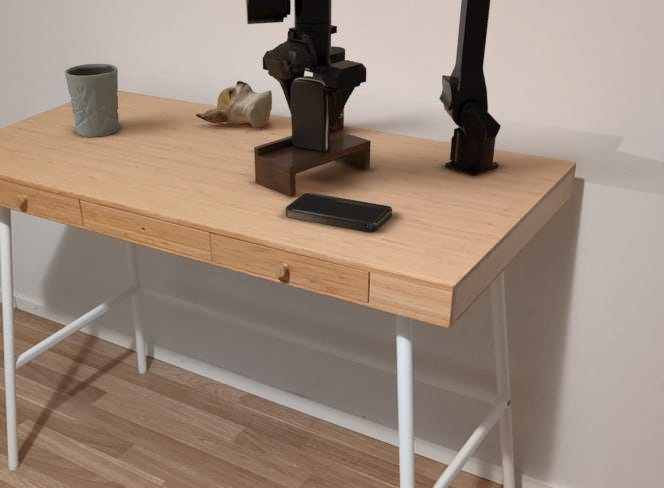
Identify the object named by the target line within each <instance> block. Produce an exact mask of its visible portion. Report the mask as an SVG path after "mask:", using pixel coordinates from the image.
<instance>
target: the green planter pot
mask: <svg viewBox="0 0 664 488" xmlns="http://www.w3.org/2000/svg"><path fill="white" fill-rule="evenodd" d="M118 71H119V70H118V67H117V66H116V65H113V64H109V63H87V64H86V63H85V64H79V65H75V66H71V67H68V68H67V69H65V70H64V76H65V81H66V85H67V90H68V94H69V97H70V104H71V109H72V113H73V121H74V125H75V131H76V134H77V135H79V136H81V137H87V138H98V137H105V136H109V135H113V134H114V133H116V132H118V131H119V129H120V122H119V121H120V119H119V117H120V116H119V111H118V110H119V96H118V89H119V85H118V84H119V82H118V81H119V80H118V74H119V73H118Z"/></svg>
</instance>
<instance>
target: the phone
mask: <svg viewBox="0 0 664 488" xmlns="http://www.w3.org/2000/svg"><path fill="white" fill-rule="evenodd" d="M285 216H286V217H288V218H293V219H298V220H302V221H303V220H304V221H308V222H313V223H318V224H319V223H320V224H325V225H329V226H335V227H341V228H345V229H352V230H357V231H361V232H368V233H371V232H376V231H378V229H380V228H381V227H382V226H383V225H384V224H385V223H386V222H387V221H388V220H389V219H390V218H392V216H393V207H392V206H391V205H387V204H386V205H385V204H379V203H373V202H367V201H361V200H356V199H350V198H345V197H338V196H332V195H326V194H321V193H314V192H305V193H302V194H301V195H300V196H299V197H297V198H296V199H295V200H293V201H292V202H291V203H289V204H288V205H287V206H285Z"/></svg>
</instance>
